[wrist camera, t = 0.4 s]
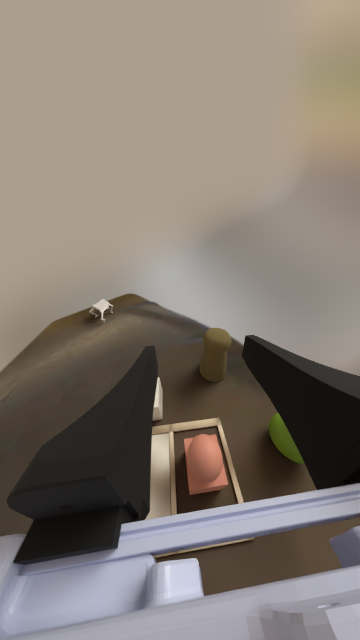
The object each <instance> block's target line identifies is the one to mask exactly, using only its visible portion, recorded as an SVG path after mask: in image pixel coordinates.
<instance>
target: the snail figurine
mask: <svg viewBox="0 0 360 640" xmlns="http://www.w3.org/2000/svg"><path fill="white" fill-rule="evenodd" d="M269 433H270V437H271V439H272V441H273V443H274V445H275V446H276V447H277V449H278V450H279V451H280V452H281V453H282V454H283V455H284V456H286V457H287V458H289V459H290V460H292V461H294V462H297V463H301V464H305V463H304V461H303V459H302V457H301V455H300V453H299V451H298V449H297V447H296V445H295V443H294V441H293V439H292V437H291V435H290V433H289V431H288V429H287V428H286V426H285V424H284V422H283V420H282V418H281V417H280V415H279V413H277V414H275V415H274V416H273V417H272V418H271V419H270V422H269Z"/></svg>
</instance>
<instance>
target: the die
mask: <svg viewBox="0 0 360 640" xmlns="http://www.w3.org/2000/svg"><path fill="white" fill-rule="evenodd" d="M155 420H162V387H161V383H160V379H159V377H158V379H157V387H156V394H155V402H154V409H153V421H155Z"/></svg>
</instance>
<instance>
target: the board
mask: <svg viewBox="0 0 360 640" xmlns="http://www.w3.org/2000/svg"><path fill="white" fill-rule="evenodd" d="M213 426H218V430H219V433H220V437H221V441H222V445H223V448H224V452H225V456H226V460H227V463H228V467H229V471H230V474H231V478H232V482H233V486H234V489H235V493H236V497H237V501H238V504H241V503H244V502H243V498H242V495H241V491H240V488H239V485H238V481H237V478H236V474H235V471H234V467H233V464H232V460H231V457H230V453H229V450H228V446H227V443H226V440H225V436H224V433H223V429H222V426H221V422H220V419H219V418H214V419H206V420H199V421H192V422H185V423H177V424H170V425H163V426H156V427H152V445H151V478H150V512H149V514H148V516H147V517H146V519H145V520H148V519H154V518H160V517H166V516H171V513H172V515H177V506H176V484H175V462H174V440H173V432H178V431H185V430H192V429H199V428H206V427H213ZM164 433H166V434H164ZM157 434H159V435H157ZM169 440H170V459H169ZM170 477H171V498H170ZM252 539H254V537H252V538H247V539H241V540H236V541H231V542H225V543H220V544H215V545H209V546H204V547H199V548H193V549H188V550H183V551H177V552H172V553H167V554H161V555H156V556H153V557H154V558H156V557H162V556H167V555H172V554H178V553H183V552H188V551H194V550H199V549H204V548H210V547H215V546H220V545H226V544H231V543H236V542H242V541H247V540H252Z"/></svg>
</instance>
